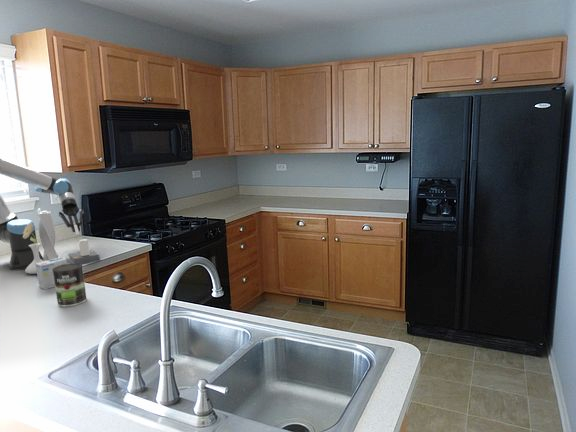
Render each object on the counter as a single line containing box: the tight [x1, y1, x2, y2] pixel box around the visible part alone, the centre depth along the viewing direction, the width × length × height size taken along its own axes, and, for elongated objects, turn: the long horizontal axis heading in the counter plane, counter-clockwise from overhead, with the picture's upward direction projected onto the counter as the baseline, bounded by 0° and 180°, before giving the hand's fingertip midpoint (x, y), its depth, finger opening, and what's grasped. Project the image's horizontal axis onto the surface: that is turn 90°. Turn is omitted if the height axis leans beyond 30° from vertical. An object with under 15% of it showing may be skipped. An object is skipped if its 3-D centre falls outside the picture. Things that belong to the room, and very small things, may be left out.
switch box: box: [68, 249, 100, 265], centre depth 226 cm, size 12×14×3 cm
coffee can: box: [52, 263, 88, 308], centre depth 165 cm, size 10×10×14 cm
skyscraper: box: [37, 207, 59, 261], centre depth 227 cm, size 8×8×28 cm
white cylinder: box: [77, 238, 90, 256], centre depth 222 cm, size 4×4×8 cm
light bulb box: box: [35, 256, 68, 290], centre depth 188 cm, size 11×7×11 cm, turn 141°
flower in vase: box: [23, 223, 44, 275], centre depth 205 cm, size 13×11×25 cm
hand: (77, 235), depth 232 cm, fingers closed
